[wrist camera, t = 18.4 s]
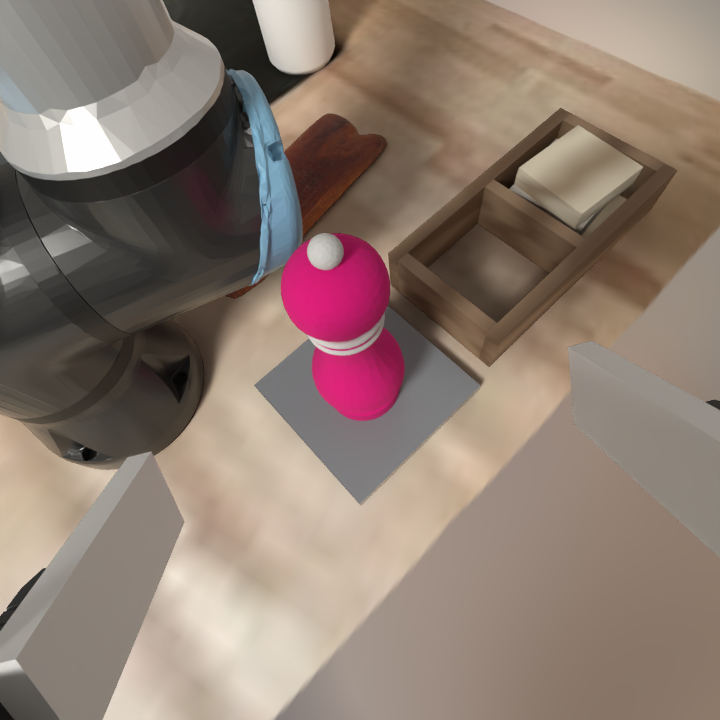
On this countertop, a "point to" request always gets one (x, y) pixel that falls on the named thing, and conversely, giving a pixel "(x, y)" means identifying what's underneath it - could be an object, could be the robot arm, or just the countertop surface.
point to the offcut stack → (577, 180)
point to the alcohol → (296, 34)
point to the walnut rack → (517, 240)
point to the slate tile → (378, 436)
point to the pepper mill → (345, 322)
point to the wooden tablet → (326, 167)
